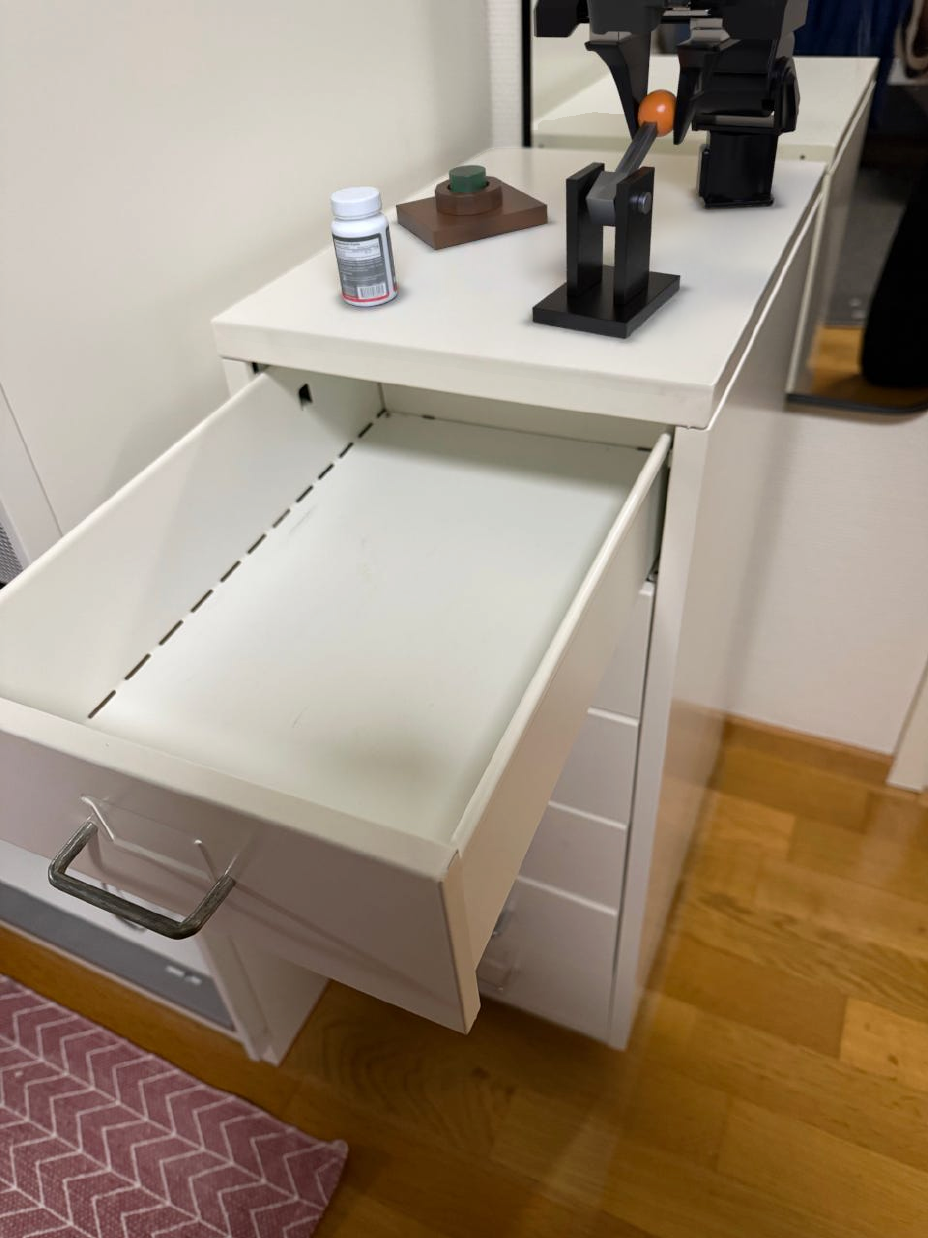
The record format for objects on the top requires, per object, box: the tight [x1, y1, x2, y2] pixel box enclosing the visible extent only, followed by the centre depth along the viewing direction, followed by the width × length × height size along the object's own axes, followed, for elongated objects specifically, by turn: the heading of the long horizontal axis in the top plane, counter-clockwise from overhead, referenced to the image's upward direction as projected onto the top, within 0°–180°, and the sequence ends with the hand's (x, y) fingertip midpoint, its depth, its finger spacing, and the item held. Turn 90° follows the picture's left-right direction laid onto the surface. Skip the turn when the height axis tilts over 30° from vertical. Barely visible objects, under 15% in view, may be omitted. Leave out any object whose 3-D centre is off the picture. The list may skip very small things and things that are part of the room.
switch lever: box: [586, 88, 677, 228], centre depth 66 cm, size 12×3×3 cm, turn 147°
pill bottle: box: [330, 186, 399, 308], centre depth 73 cm, size 5×5×8 cm
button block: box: [395, 175, 548, 250], centre depth 87 cm, size 12×10×4 cm
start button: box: [448, 164, 487, 192], centre depth 85 cm, size 4×4×2 cm
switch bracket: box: [531, 161, 681, 339], centre depth 67 cm, size 10×8×10 cm
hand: (657, 142), depth 68 cm, fingers closed on switch lever, 3 cm apart
